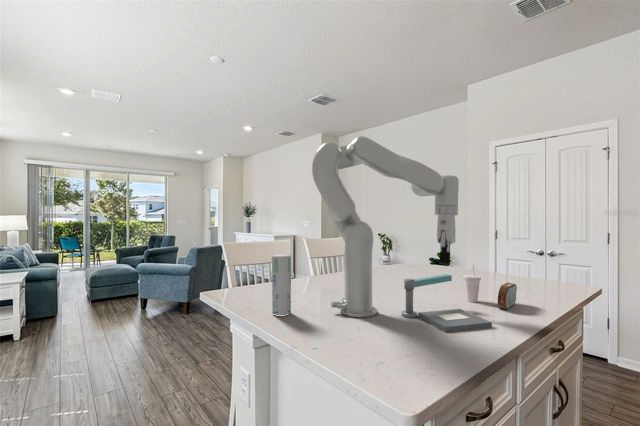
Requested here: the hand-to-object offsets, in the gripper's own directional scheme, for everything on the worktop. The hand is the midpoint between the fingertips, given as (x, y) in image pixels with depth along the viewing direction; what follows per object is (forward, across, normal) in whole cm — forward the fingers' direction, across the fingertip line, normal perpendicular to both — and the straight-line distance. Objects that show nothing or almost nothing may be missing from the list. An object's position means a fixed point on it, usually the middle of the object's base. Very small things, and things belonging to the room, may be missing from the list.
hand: (444, 263), depth 109 cm
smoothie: (+16, +19, -7) cm, 26 cm away
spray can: (+19, -31, +47) cm, 59 cm away
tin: (+16, +17, -19) cm, 30 cm away
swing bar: (+8, -3, +5) cm, 10 cm away
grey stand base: (+17, -11, -1) cm, 20 cm away
